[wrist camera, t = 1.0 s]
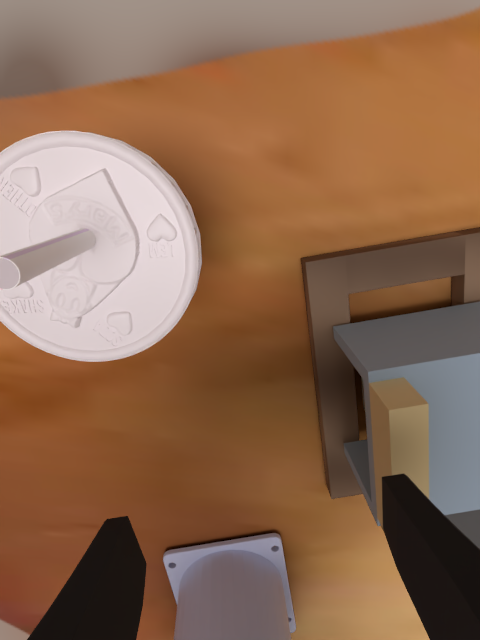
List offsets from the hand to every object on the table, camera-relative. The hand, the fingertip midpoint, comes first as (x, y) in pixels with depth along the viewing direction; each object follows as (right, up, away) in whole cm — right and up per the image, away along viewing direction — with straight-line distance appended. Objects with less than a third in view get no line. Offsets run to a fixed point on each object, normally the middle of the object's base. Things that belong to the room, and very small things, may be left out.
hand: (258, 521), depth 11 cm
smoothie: (-5, +11, +9) cm, 15 cm away
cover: (+9, +2, +11) cm, 14 cm away
